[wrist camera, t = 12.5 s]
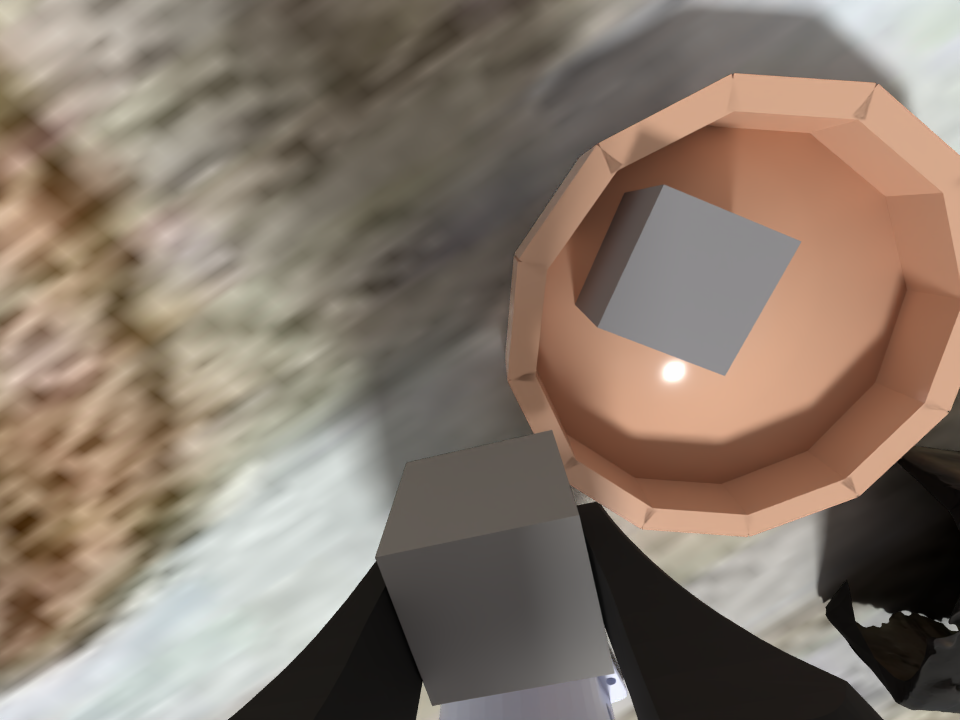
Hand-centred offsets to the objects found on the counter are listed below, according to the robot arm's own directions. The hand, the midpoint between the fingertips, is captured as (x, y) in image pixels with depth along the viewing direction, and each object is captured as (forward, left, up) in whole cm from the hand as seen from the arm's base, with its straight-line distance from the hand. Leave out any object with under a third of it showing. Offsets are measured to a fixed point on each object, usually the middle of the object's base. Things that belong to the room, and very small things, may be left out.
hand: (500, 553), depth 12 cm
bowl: (0, -10, -8) cm, 13 cm away
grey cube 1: (+3, -8, -8) cm, 12 cm away
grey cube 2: (0, 0, -2) cm, 2 cm away
